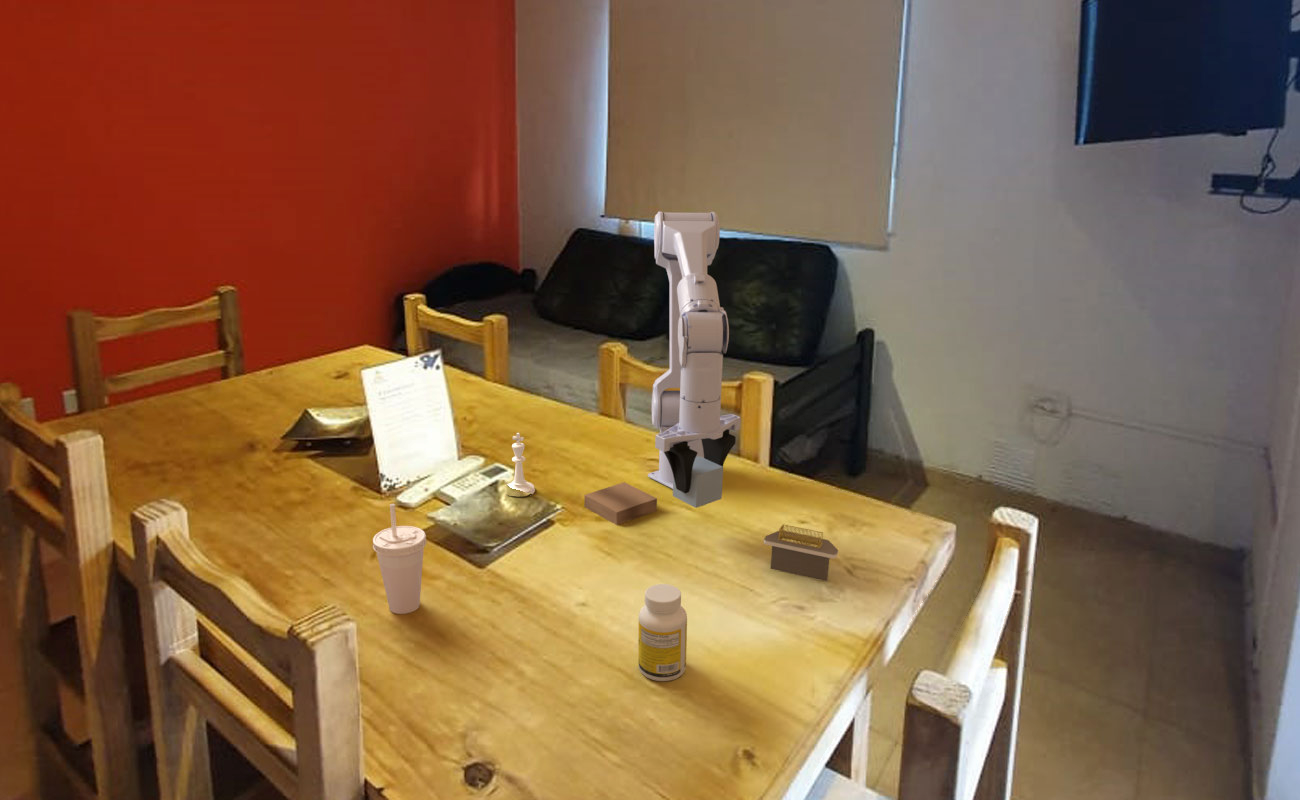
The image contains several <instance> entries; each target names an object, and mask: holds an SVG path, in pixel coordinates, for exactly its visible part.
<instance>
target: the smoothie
mask: <svg viewBox="0 0 1300 800" xmlns="http://www.w3.org/2000/svg"><path fill="white" fill-rule="evenodd" d="M395 505H396V504H395V503H390V504H389V510H390V524H391V527H388V528H385V529H381V530H380V531H379V532H377V533H376V534H375V535H374V536H373V539H372V549H373V551H374V552H376V556H377V562H378V564H379V569H380V573H381V576H382V577H381V578H382V582H383V587H384V591H385V594H386V600H387V604H388V609H389V611H390V612H392V613H393V614H396V615H406V614H410V613H414V612H415V611H416V610H417V609H419V607H420V605H421V592H422V576H423V575H422V574H423V564H424V563H423V561H424V560H423V559H424V547H425V546H426V545H427V543H428V542H427V540H428V539H427V536H426V532H425V531H424V530H423V529H421V528H419V527H417V526H412V525H398V526H397V519H396V518H397V517H396V506H395Z"/></svg>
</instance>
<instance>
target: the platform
mask: <svg viewBox="0 0 1300 800" xmlns="http://www.w3.org/2000/svg"><path fill="white" fill-rule="evenodd" d="M823 538H824V532H823V531H822V532H821V531H817V530H814V529H808V528H804V527H798V526H794V525H789V524H785V523H784V524H782V525H781V526H780V528H779V529H778V530H777V531H774V532H771V533H770V534H767V535H766V536H765V537H764V538H763V544H764V545H767V546H770V547H771V557H770V570H774V571H778V572H782V573H787V574H792V575H796V576H801V577H804V578H805V577H806V578H810V579H815V580H819V581H824V582H828V579H829V569H830V567H829V566H830V559H833V560H834V559H836V558H837V557H838V555H839V550H838V549H837V548H836V546H835V545H834V544H833V543H832V542H831V541H830V540H828V539H825V538H824V539H823Z"/></svg>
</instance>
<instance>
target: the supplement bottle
mask: <svg viewBox="0 0 1300 800" xmlns="http://www.w3.org/2000/svg"><path fill="white" fill-rule="evenodd" d="M687 615H688V614H687V611H686V609H685V608H684V606H682V592H681V591H680V589H679V588H678V587H677V586H674V585H672V584H667V583H657V584H653V585H651V586H649V587H647V589H645V592H644V605H643V606H642V607H641V609H640V611H639V614H638V669H639V671H640V673H641V674H642V675H643V676H645V677H646V678H647V679H650V680H653V681H657V682H669V681H674V680H677V679H678V678H680V677H681V676H682V675H683V674H684V673H685V670H686V668H687V641H688V640H687V639H688V638H687V636H688V635H687V634H688V632H687V631H688V616H687Z"/></svg>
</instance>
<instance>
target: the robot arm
mask: <svg viewBox="0 0 1300 800" xmlns="http://www.w3.org/2000/svg"><path fill="white" fill-rule="evenodd" d="M720 224H721V223H720V218H719V215H718V214H717V213H716V212H715V211H711V212H666V211H661V210H660V211H658V212H657V214H655V215H654V224H653V226H654V228H653V229H654V230H653V232H654V233H653V240H654V241H653V243H654V259H655V264H656V265H657V266H660V267H662V268H664V269H665V270H666V272H667V273H666V274H667V277H668V282H669V369H668V370H666V371H665V372H664V373H663V374H662V375H660V376H659V377H657V378H656V379H655V380H654V382H653V384H652V394H651V423H652V425H653V426H654V427H655V429H659V433H658V434H655V443H654V445H655V446H654V447H655V449H657V450H659V451H658V453H659V456H658V457H659V461H658V470H656V471H652V472H649V473H648V474H647V477H648V478H649V479H652V480H654V481H656V482H658V483H660V484H661V485H664V486H666V487H668V488H669V489H672V490H673V476H674V480H675V485H676V489H677V490H679V491H681V492H683V493H688V492H689V490H690V485H691V473H692V468H693V464H694V461H695V458H696V457H698V456H700V457H703V458H705V459H707V460H709V461H711V462H714V463H716V464H718V465H720V466H722V467H723V468H724V464H725V462H726V459H727V457H728V455H729V454H730V451H731V450H732V449H733V447H734V446H735V445H736V440H737V439H736V436H735V435H733V434H731V433H730V431H739V430H741V422H742V421H741V417H740V416H738V415H736V414H733V413H729V414H725V415H721V405H722V403H721V402H722V383H723V382H722V381H723V360H724V354H726V353H727V350H728V346H729V345H728V344H729V337H730V329H729V328H730V327H729V319H728V315H727V314H728V313H727V311H726V310H724V309H725V308H724V307H721V306H720V305H721V304H720V298H719V292H718V286H717V282H716V280H715V279H714V278H713V277H712V276H711V275H709V274H708V266H711V265H712V263H713V260H714V259H715V257H716V253H717V250H718V249H719V244H720V233H721V232H720V231H721V228H720V226H721V225H720ZM722 352H723V353H722ZM666 389H667V390H666ZM668 389H679V390H668Z"/></svg>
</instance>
